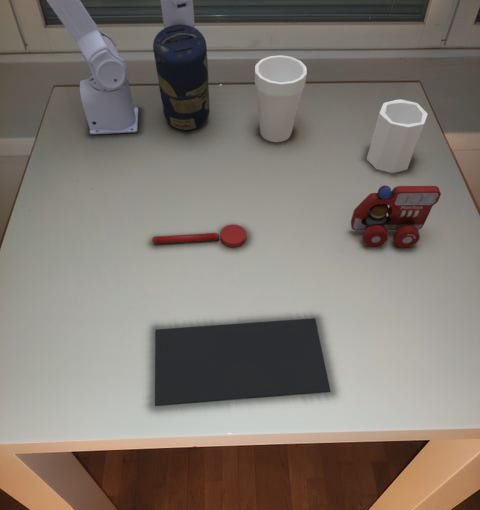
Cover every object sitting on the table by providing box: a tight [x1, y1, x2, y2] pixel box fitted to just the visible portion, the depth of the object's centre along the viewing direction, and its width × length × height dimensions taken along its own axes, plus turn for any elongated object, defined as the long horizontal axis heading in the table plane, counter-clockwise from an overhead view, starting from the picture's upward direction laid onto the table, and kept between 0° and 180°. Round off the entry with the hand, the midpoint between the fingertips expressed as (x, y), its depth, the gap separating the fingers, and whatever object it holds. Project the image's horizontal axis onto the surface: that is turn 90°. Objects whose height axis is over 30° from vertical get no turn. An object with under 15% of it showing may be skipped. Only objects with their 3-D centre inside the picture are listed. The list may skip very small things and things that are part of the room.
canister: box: [152, 24, 210, 131], centre depth 90 cm, size 10×10×18 cm
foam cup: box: [254, 54, 308, 143], centre depth 91 cm, size 10×9×13 cm
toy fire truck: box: [350, 185, 442, 249], centre depth 77 cm, size 7×12×10 cm, turn 88°
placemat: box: [154, 317, 331, 407], centre depth 68 cm, size 24×12×1 cm, turn 95°
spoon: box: [151, 224, 247, 248], centre depth 80 cm, size 16×4×1 cm, turn 95°
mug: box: [366, 98, 429, 174], centre depth 89 cm, size 12×9×10 cm
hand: (186, 93), depth 99 cm, fingers closed, pressing on canister
